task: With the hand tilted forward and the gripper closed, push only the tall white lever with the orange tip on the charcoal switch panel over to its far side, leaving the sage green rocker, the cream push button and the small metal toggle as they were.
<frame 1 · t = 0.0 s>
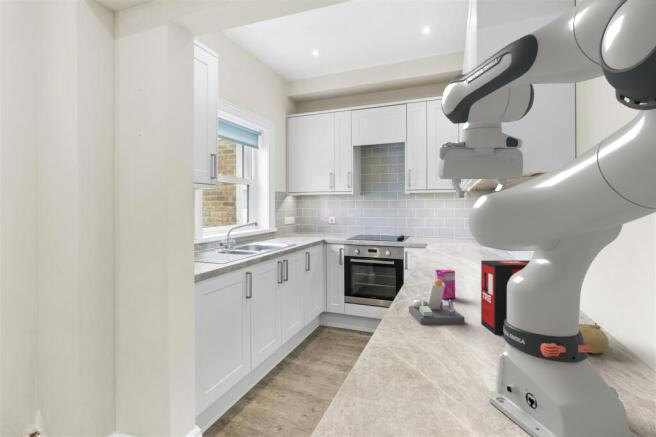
hand: (478, 197, 81), 39 cm above the countertop, tool pointing down, fingers open, 8 cm apart
panel: (435, 317, 107), on the countertop
rocker: (425, 311, 103), point 3 cm above the countertop, hinge at -10.0°
lever: (435, 294, 106), point 8 cm above the countertop, hinge at -28.0°
supplement box: (445, 298, 131), on the countertop
button: (417, 303, 111), point 3 cm above the countertop, slide at 0.0 cm
cleaning product box: (515, 330, 96), on the countertop
toggle: (451, 306, 105), point 4 cm above the countertop, hinge at 25.0°
onion: (587, 351, 81), on the countertop
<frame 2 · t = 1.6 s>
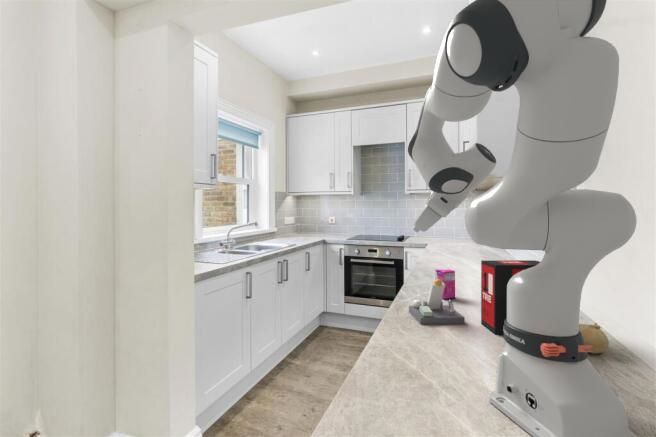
hand: (421, 222, 101), 32 cm above the countertop, tool tilted 50°, fingers open, 8 cm apart
nothing on the countertop moved.
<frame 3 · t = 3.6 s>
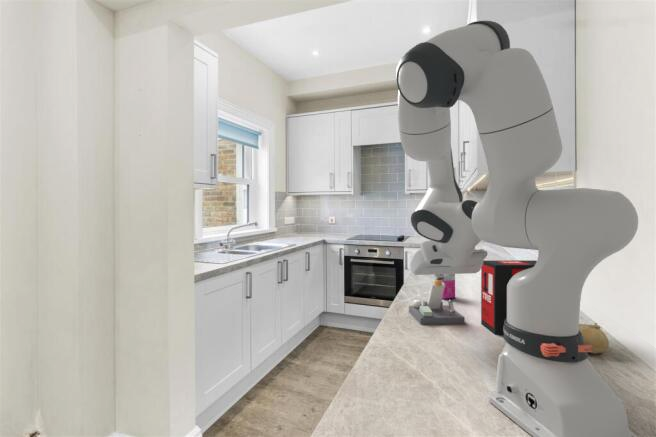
hand: (438, 278, 98), 15 cm above the countertop, tool tilted 45°, fingers closed
nothing on the countertop moved.
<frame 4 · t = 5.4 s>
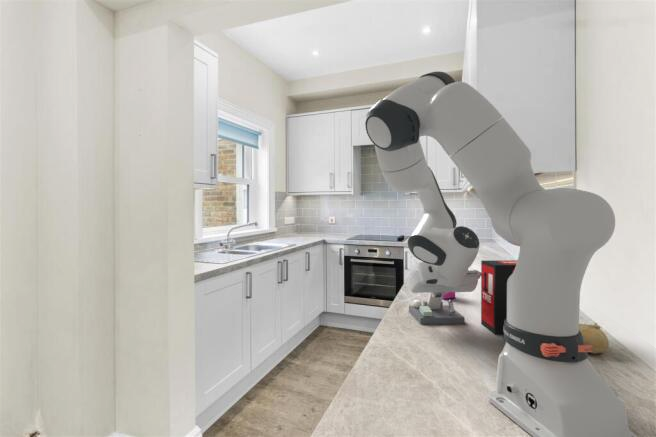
hand: (436, 295, 104), 8 cm above the countertop, tool tilted 45°, fingers closed, pressing on lever
lever: (435, 294, 106), point 8 cm above the countertop, hinge at -27.9°, touching gripper
everything else where it was.
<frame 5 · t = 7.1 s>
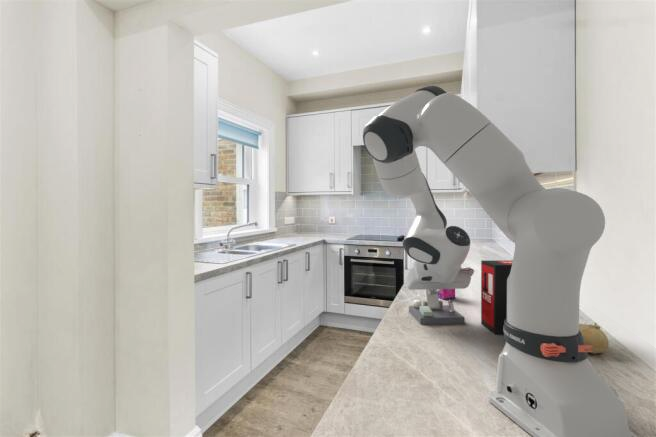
hand: (432, 292, 110), 8 cm above the countertop, tool tilted 45°, fingers closed, pressing on lever
lever: (430, 290, 111), point 8 cm above the countertop, hinge at 22.9°, touching gripper
everything else where it was.
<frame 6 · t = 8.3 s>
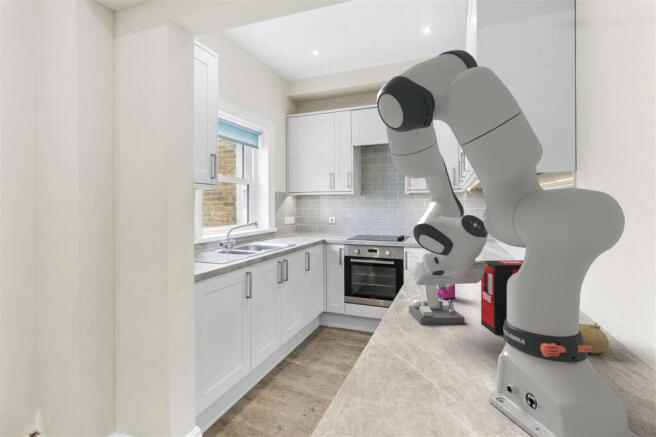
hand: (441, 288, 102), 11 cm above the countertop, tool tilted 45°, fingers closed
lever: (430, 290, 111), point 8 cm above the countertop, hinge at 23.1°
everything else where it was.
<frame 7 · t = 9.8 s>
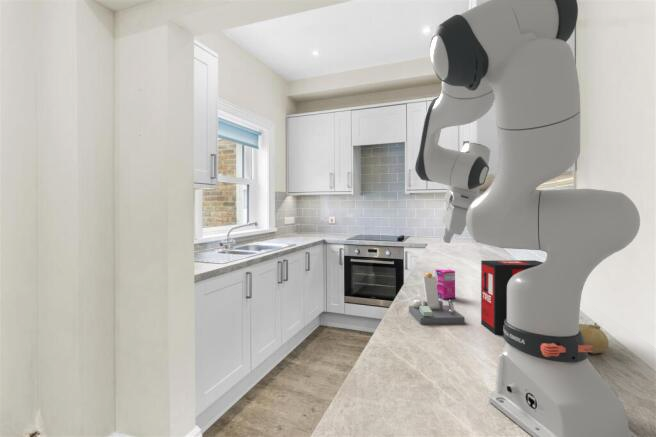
hand: (446, 241, 99), 26 cm above the countertop, tool tilted 20°, fingers closed
nothing on the countertop moved.
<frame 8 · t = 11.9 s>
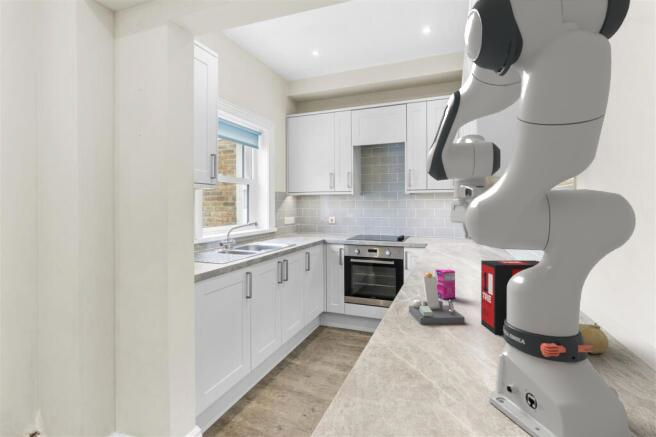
hand: (469, 239, 95), 27 cm above the countertop, tool pointing down, fingers closed
nothing on the countertop moved.
at the end: lever at +23° (first picture: -28°); rocker at -10° (first picture: -10°); toggle at +25° (first picture: +25°) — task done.
